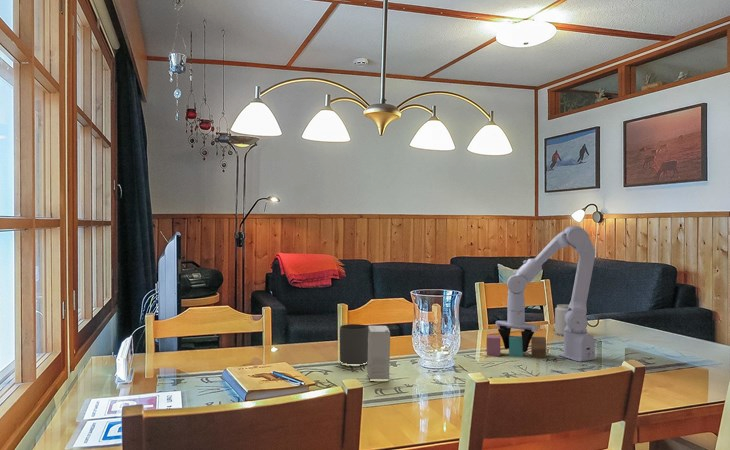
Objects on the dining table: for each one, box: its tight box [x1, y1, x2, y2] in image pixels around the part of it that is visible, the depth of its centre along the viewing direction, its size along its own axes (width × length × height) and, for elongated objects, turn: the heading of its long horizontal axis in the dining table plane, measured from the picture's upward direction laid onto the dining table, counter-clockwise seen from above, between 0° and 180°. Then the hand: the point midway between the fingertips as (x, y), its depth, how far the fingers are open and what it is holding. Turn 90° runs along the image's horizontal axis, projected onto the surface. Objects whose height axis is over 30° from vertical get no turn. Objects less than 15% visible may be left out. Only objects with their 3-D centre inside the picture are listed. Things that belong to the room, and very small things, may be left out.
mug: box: [339, 323, 368, 364], centre depth 183 cm, size 14×9×12 cm
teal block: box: [508, 335, 524, 357], centre depth 192 cm, size 4×4×6 cm
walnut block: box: [530, 336, 547, 358], centre depth 191 cm, size 4×4×6 cm
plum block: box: [486, 334, 501, 357], centre depth 193 cm, size 4×4×6 cm
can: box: [554, 303, 569, 337], centre depth 226 cm, size 8×8×12 cm
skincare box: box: [366, 325, 391, 380], centre depth 164 cm, size 8×6×15 cm
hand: (516, 350), depth 192 cm, fingers closed on teal block, 6 cm apart
